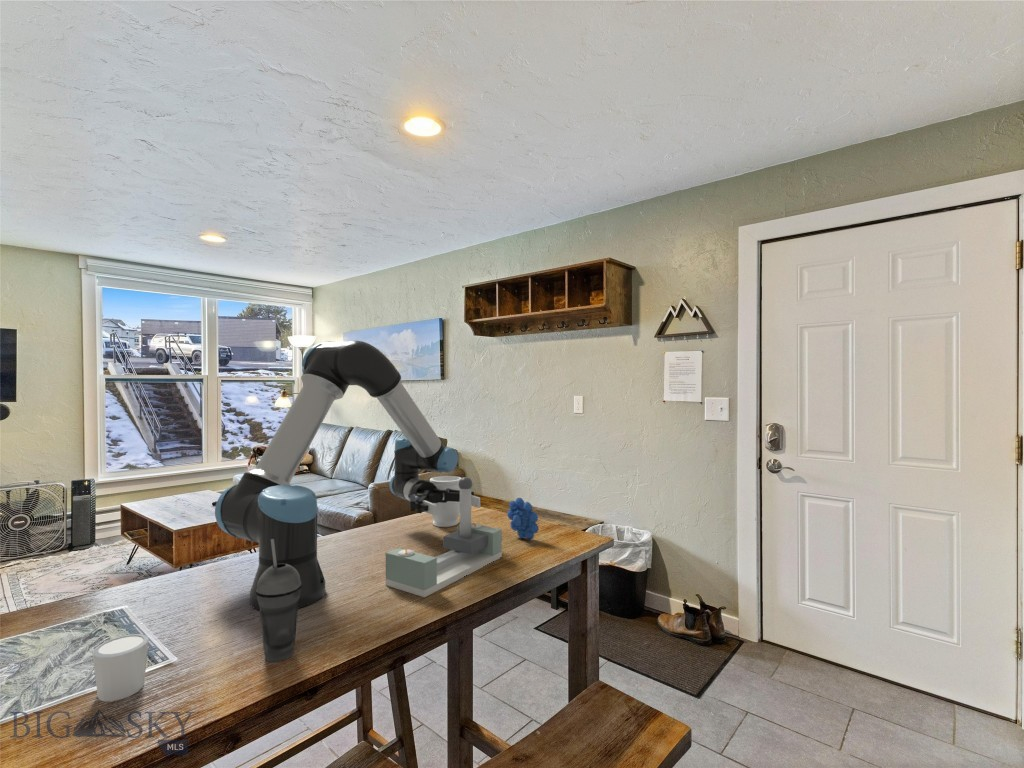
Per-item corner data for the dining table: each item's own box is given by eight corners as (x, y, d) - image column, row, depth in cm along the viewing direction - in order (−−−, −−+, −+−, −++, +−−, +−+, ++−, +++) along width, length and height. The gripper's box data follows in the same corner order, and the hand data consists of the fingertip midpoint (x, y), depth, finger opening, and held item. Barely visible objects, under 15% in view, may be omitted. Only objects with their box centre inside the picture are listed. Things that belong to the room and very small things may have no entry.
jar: (450, 517, 175) (450, 474, 175) (468, 524, 167) (468, 478, 167) (423, 523, 168) (423, 477, 168) (440, 530, 160) (440, 482, 160)
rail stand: (424, 597, 111) (424, 560, 111) (385, 585, 118) (385, 550, 118) (501, 557, 136) (501, 527, 136) (466, 549, 143) (466, 520, 143)
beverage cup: (290, 667, 84) (290, 546, 84) (246, 666, 84) (246, 545, 84) (309, 644, 92) (309, 533, 91) (268, 643, 92) (268, 532, 92)
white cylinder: (90, 710, 73) (90, 661, 73) (94, 686, 79) (93, 641, 79) (149, 693, 77) (149, 647, 77) (148, 672, 83) (148, 629, 83)
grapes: (498, 537, 153) (498, 497, 153) (513, 532, 158) (513, 494, 158) (528, 546, 146) (528, 504, 146) (543, 540, 151) (543, 499, 151)
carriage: (470, 554, 128) (471, 481, 127) (443, 547, 132) (443, 477, 132) (487, 546, 133) (487, 476, 133) (460, 540, 138) (460, 473, 138)
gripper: (456, 499, 161) (495, 513, 145) (381, 511, 146) (416, 528, 129) (456, 475, 161) (496, 486, 145) (381, 485, 146) (416, 499, 129)
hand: (458, 506), depth 137 cm, fingers open, 13 cm apart
